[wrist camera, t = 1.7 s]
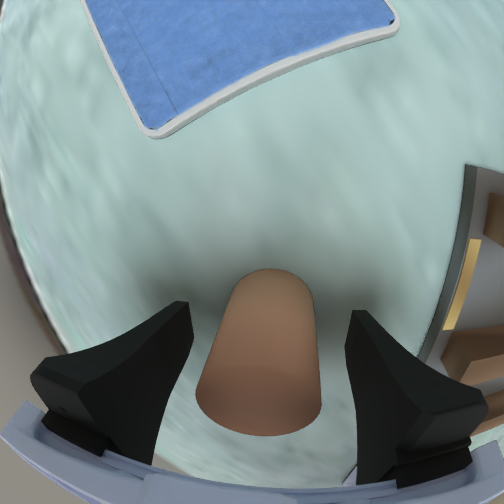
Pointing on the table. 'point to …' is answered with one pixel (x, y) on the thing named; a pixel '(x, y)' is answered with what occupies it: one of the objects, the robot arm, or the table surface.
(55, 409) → the robot arm
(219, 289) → the table surface
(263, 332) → the terracotta plug
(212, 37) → the tablet computer
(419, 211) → the table surface
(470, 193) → the comb rack
